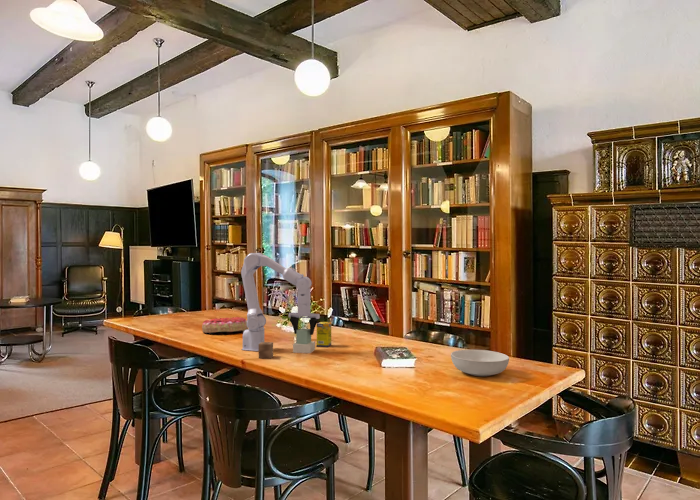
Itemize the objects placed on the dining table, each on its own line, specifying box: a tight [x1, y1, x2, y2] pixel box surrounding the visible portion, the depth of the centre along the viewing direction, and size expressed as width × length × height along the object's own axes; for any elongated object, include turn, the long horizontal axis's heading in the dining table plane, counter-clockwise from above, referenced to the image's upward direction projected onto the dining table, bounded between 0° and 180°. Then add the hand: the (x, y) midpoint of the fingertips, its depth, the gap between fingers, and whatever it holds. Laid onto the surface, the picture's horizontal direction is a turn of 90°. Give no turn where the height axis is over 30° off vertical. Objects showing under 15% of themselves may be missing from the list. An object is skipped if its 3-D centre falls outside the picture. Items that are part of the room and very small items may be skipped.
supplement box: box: [316, 321, 332, 348], centre depth 237 cm, size 6×6×11 cm
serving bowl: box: [450, 349, 510, 377], centre depth 186 cm, size 21×21×7 cm
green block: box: [295, 327, 312, 344], centre depth 225 cm, size 5×5×6 cm
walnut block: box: [258, 341, 274, 360], centre depth 213 cm, size 5×5×6 cm
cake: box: [201, 316, 249, 335], centre depth 278 cm, size 25×25×8 cm
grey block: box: [292, 340, 316, 354], centre depth 225 cm, size 8×8×4 cm
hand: (303, 334), depth 225 cm, fingers open, 7 cm apart
